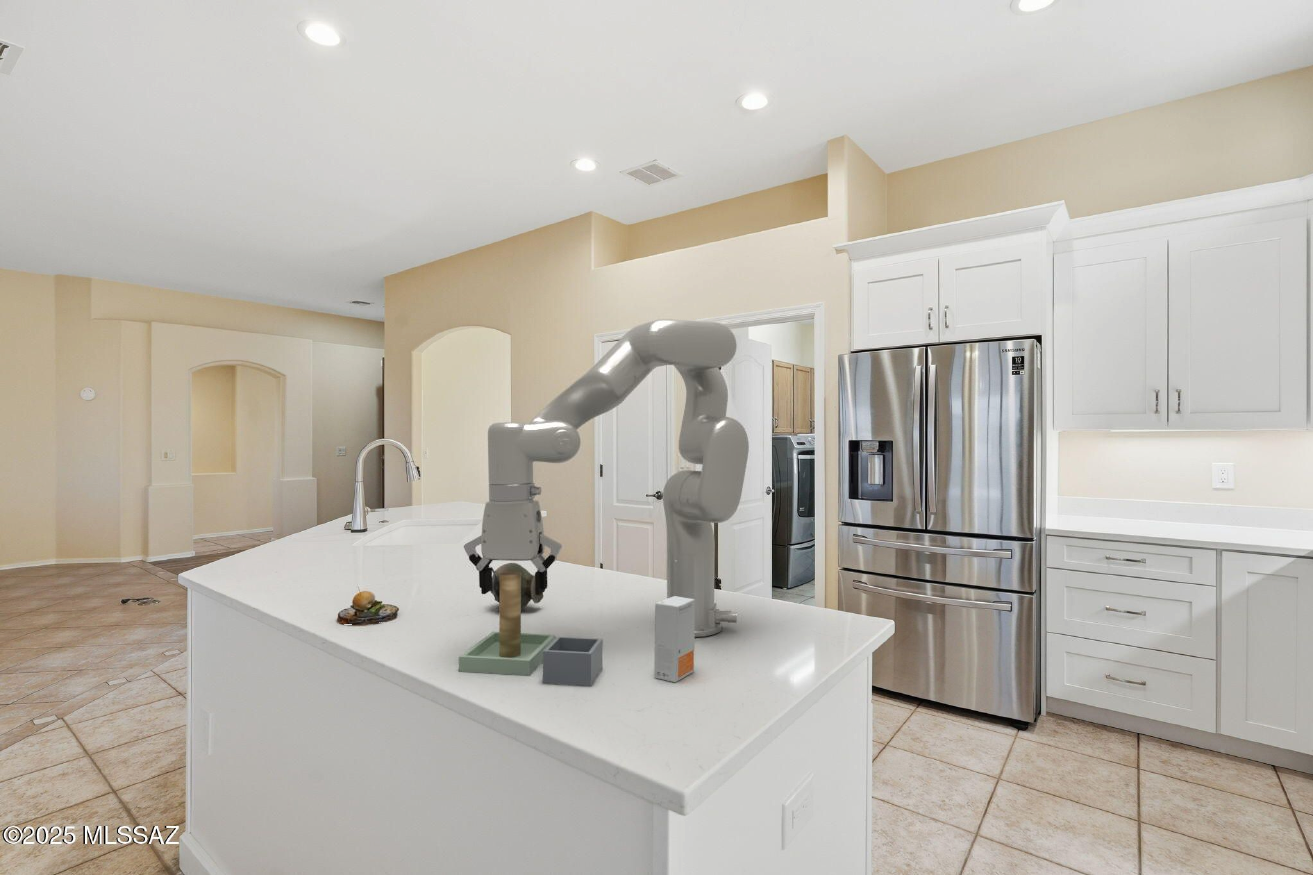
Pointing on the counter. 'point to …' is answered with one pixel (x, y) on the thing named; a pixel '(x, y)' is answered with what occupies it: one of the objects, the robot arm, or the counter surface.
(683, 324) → the robot arm
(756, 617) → the counter surface
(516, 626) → the dowel
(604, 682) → the counter surface
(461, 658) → the tray
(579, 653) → the open box
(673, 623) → the skincare box
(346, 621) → the plate of food
